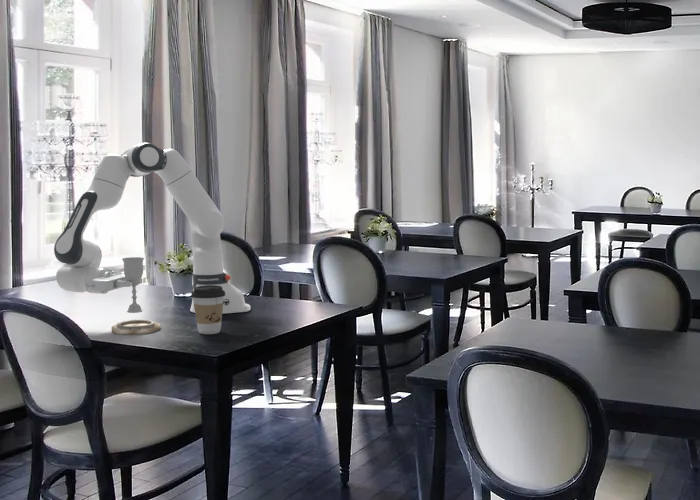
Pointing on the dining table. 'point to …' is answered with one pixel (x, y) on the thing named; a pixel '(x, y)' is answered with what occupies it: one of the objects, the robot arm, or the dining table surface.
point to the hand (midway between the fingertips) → (136, 282)
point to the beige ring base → (135, 327)
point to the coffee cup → (208, 308)
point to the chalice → (133, 278)
